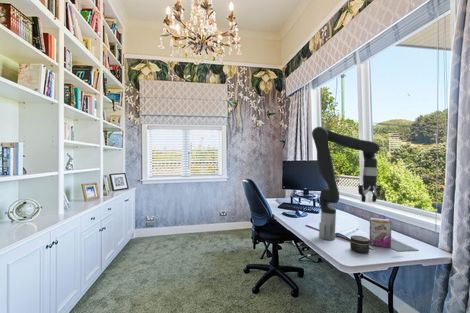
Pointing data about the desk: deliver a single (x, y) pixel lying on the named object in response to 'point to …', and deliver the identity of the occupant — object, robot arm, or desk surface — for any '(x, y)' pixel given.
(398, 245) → the mat
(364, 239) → the jar
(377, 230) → the candy bar box
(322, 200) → the robot arm
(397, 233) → the desk surface
